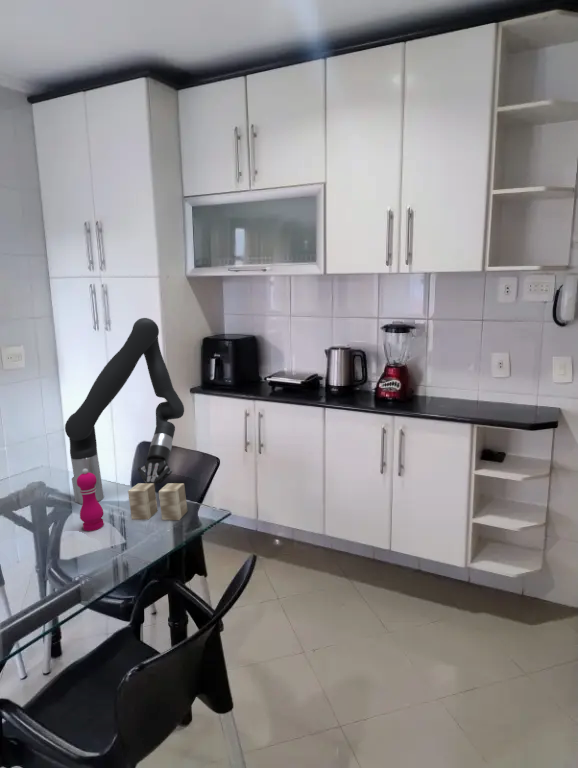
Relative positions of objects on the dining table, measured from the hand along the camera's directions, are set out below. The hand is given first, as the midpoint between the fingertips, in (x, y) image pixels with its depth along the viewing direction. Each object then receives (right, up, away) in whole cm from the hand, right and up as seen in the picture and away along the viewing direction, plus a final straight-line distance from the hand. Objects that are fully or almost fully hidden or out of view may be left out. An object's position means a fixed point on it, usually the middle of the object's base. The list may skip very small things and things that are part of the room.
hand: (149, 493), depth 182 cm
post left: (-1, -7, -4) cm, 8 cm away
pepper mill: (-16, -9, -10) cm, 20 cm away
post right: (+10, -6, -6) cm, 13 cm away
